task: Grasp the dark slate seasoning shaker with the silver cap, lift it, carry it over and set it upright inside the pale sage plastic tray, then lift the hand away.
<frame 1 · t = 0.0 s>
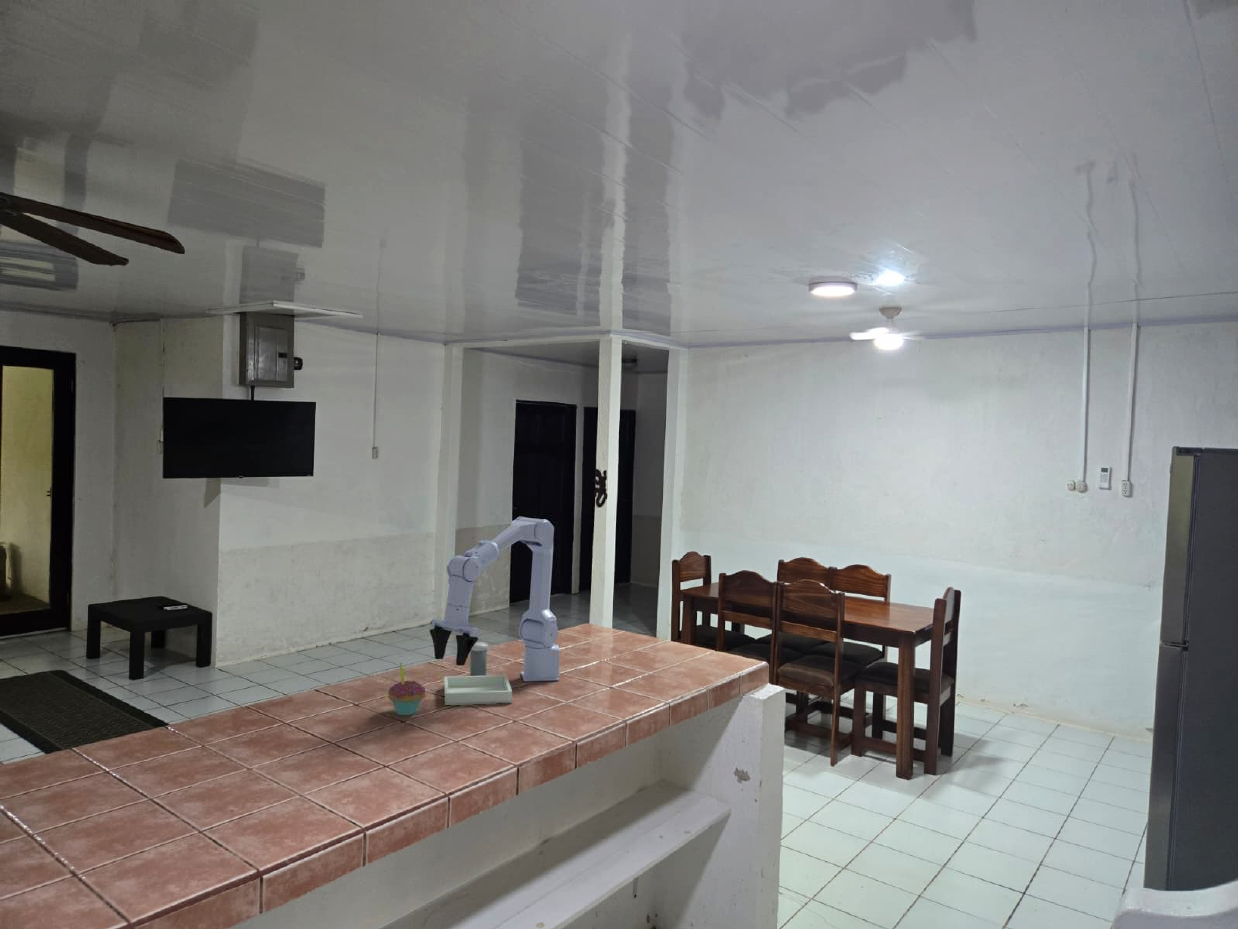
hand: (449, 662, 198), 11 cm above the counter, tool pointing down, fingers open, 7 cm apart
cupcake: (406, 712, 193), on the counter
shaker: (477, 680, 219), on the counter
tray: (476, 695, 206), on the counter
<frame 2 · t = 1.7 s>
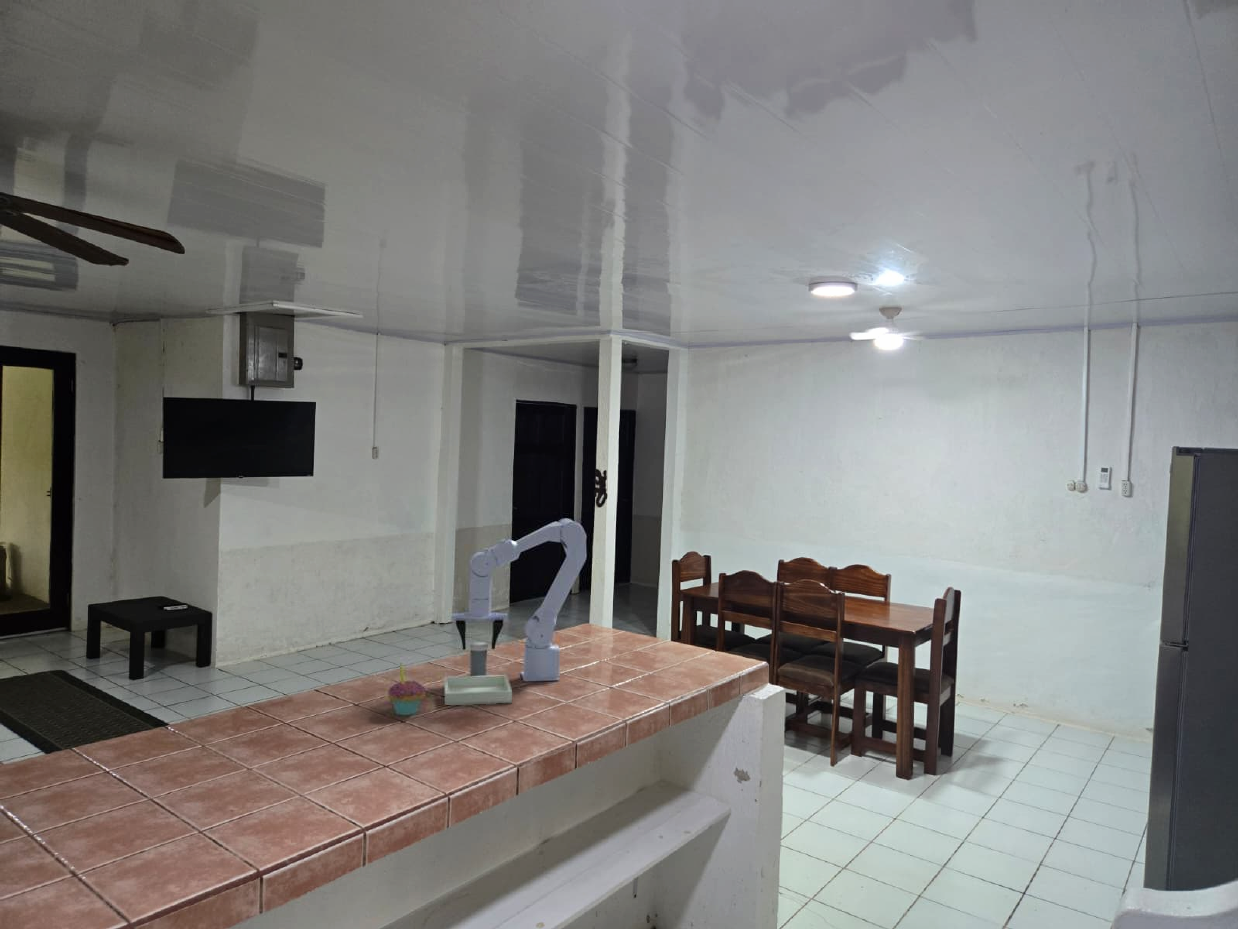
hand: (478, 648, 219), 9 cm above the counter, tool pointing down, fingers open, 7 cm apart
nothing on the counter moved.
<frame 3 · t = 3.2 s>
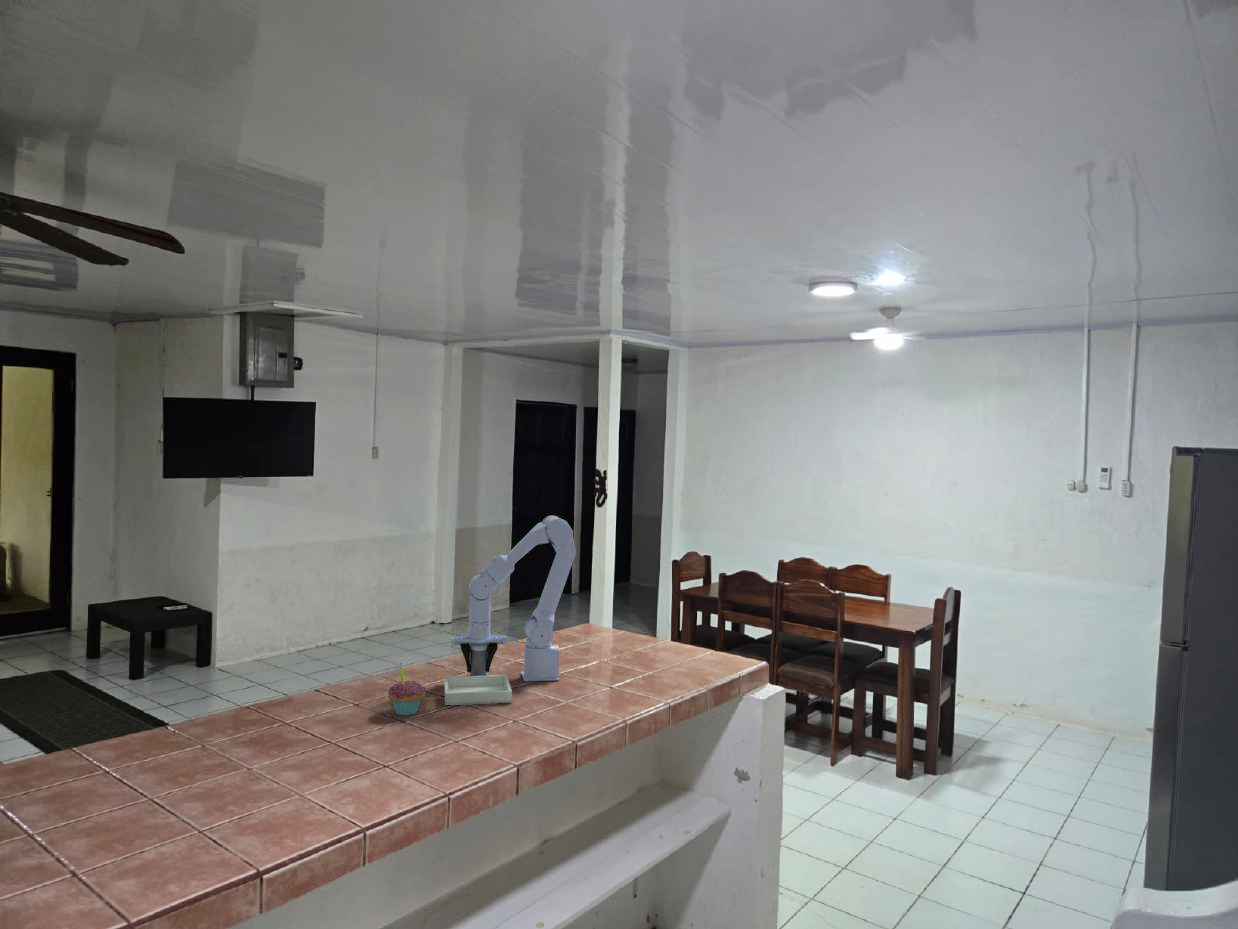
hand: (478, 671, 219), 2 cm above the counter, tool pointing down, fingers closed on shaker, 4 cm apart
shaker: (477, 680, 219), on the counter, touching gripper
everything else where it was.
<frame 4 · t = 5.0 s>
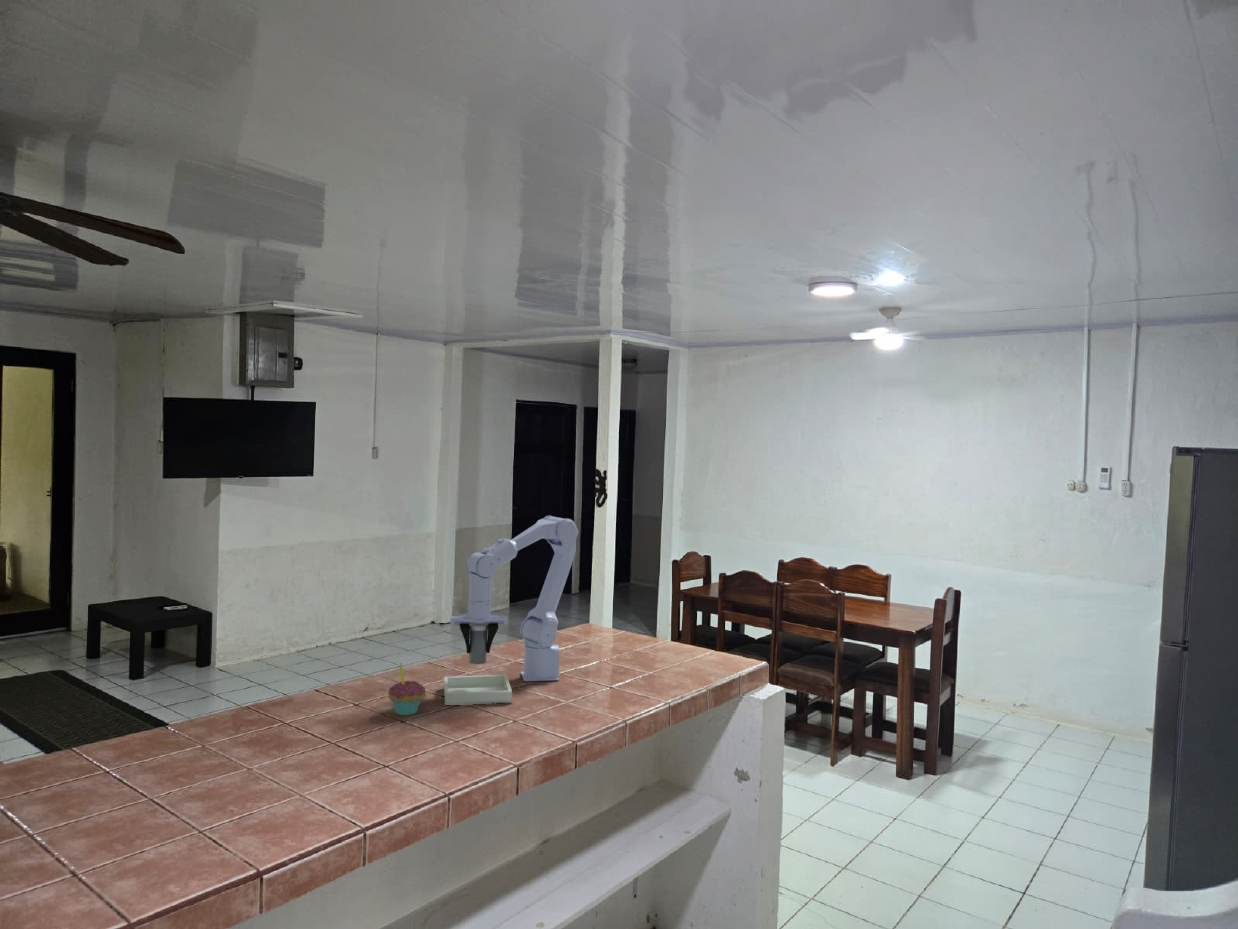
hand: (478, 652, 212), 9 cm above the counter, tool pointing down, fingers closed on shaker, 4 cm apart
shaker: (477, 662, 212), point 7 cm above the counter, touching gripper
everything else where it was.
when the fingers open (4 cm above the counter, at t = 7.1 s): shaker drops 1 cm, resting on tray.
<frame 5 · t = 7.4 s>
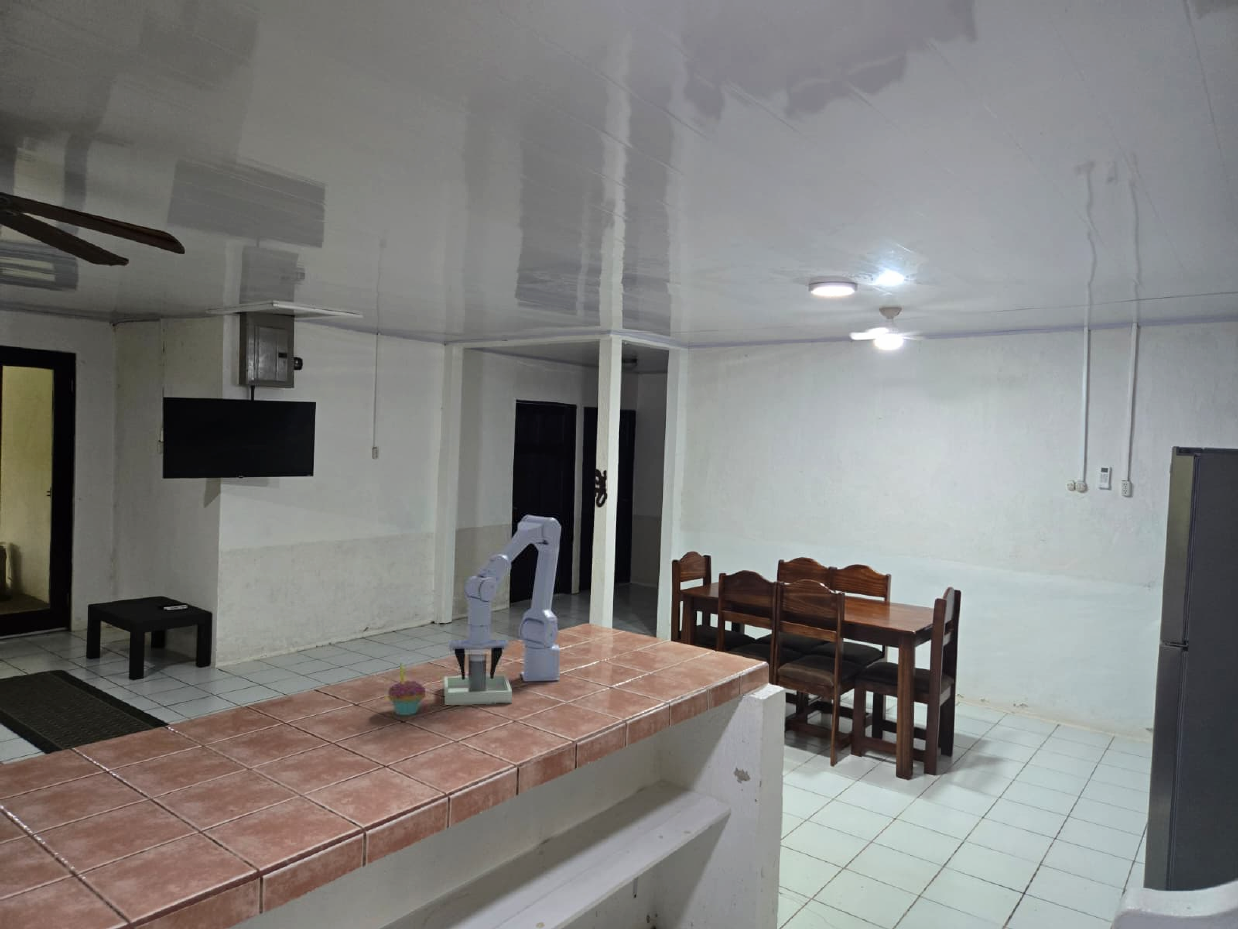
hand: (477, 678, 206), 4 cm above the counter, tool pointing down, fingers open, 6 cm apart
shaker: (477, 693, 206), point 1 cm above the counter, touching tray
everything else where it was.
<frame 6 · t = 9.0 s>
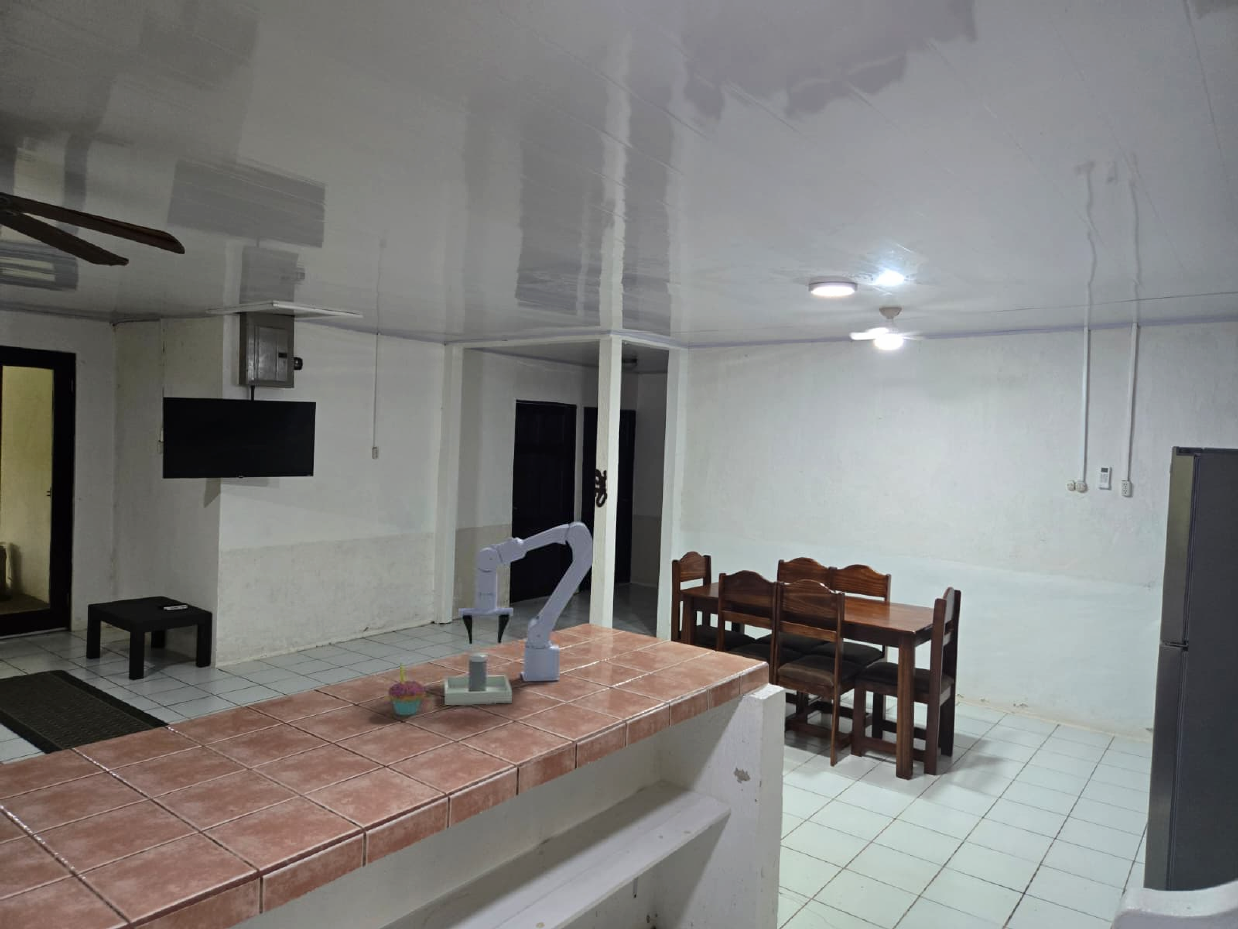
hand: (484, 642, 222), 9 cm above the counter, tool pointing down, fingers open, 7 cm apart
nothing on the counter moved.
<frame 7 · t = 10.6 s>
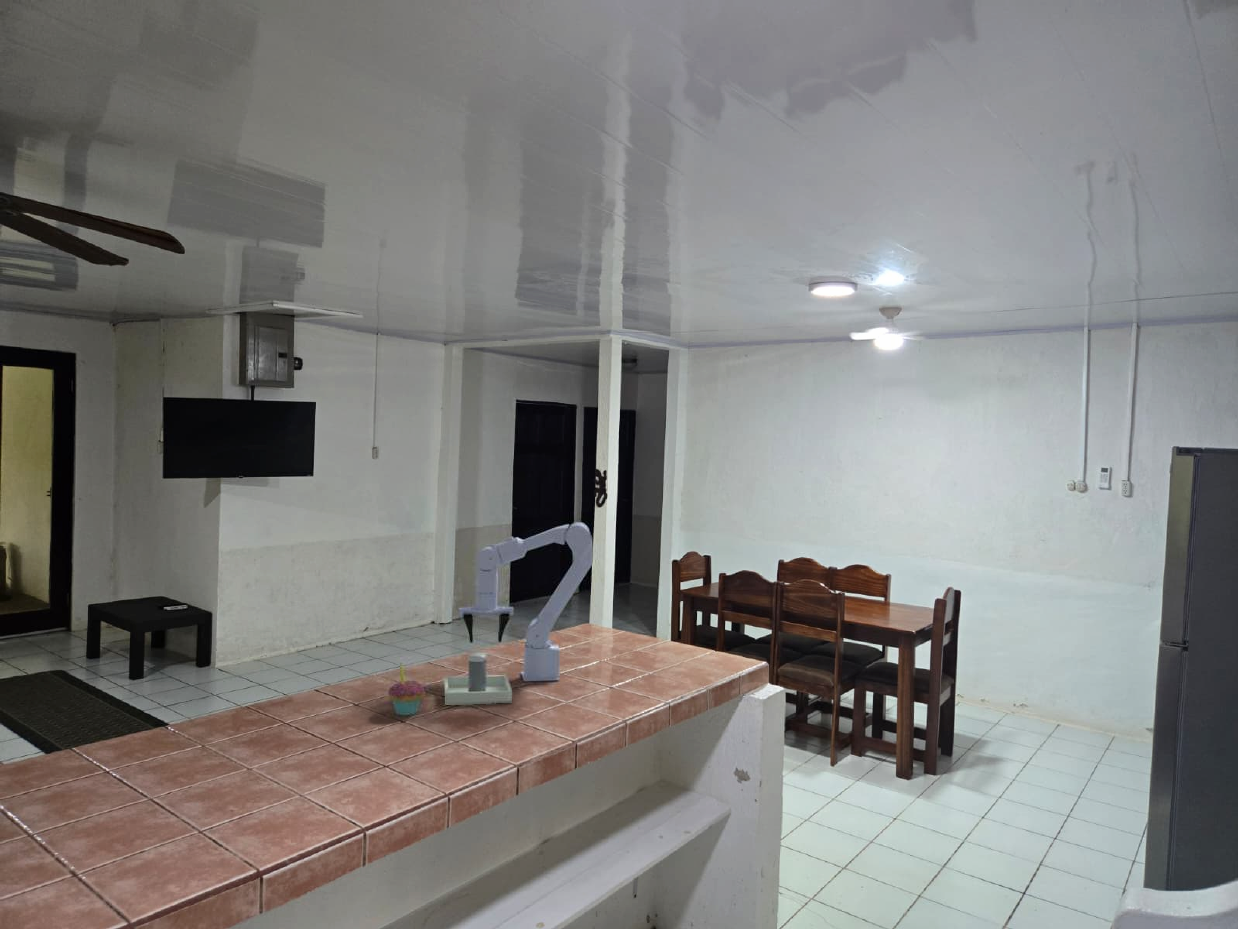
hand: (485, 641, 223), 9 cm above the counter, tool pointing down, fingers open, 7 cm apart
nothing on the counter moved.
at the end: shaker inside the target area on the tray (0.1 cm from its centre), point 0.6 cm above the tray's base; shaker tilted 1°; the gripper is holding nothing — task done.
